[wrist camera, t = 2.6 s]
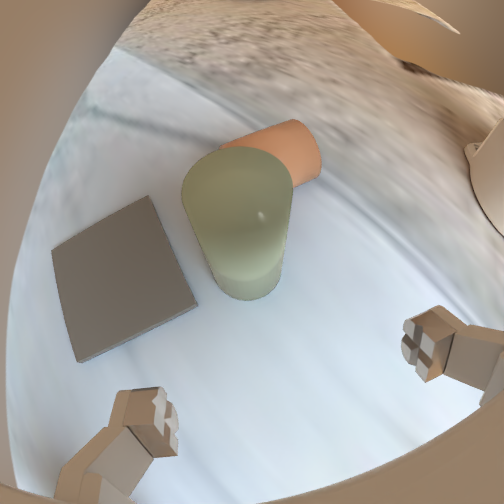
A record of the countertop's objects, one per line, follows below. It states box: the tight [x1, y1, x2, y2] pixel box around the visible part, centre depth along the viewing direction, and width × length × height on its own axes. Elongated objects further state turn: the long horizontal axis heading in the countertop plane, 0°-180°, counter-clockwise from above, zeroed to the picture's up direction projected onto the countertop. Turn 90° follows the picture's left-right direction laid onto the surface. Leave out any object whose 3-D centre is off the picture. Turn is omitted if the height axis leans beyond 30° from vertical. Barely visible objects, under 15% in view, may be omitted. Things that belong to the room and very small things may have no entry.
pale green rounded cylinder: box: [181, 146, 293, 301], centre depth 19 cm, size 6×6×11 cm
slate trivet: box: [51, 196, 198, 363], centre depth 24 cm, size 12×12×1 cm
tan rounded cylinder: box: [219, 119, 321, 188], centre depth 25 cm, size 7×6×6 cm
